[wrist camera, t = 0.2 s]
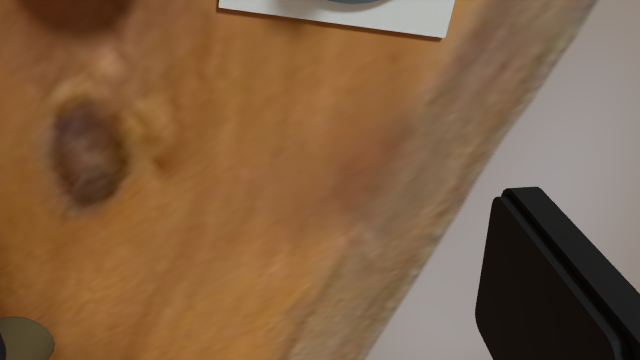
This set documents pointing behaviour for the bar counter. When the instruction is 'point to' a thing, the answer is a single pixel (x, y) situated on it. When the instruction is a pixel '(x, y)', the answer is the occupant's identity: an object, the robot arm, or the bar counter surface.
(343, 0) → the lid
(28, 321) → the cork
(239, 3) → the mat
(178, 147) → the bar counter surface
